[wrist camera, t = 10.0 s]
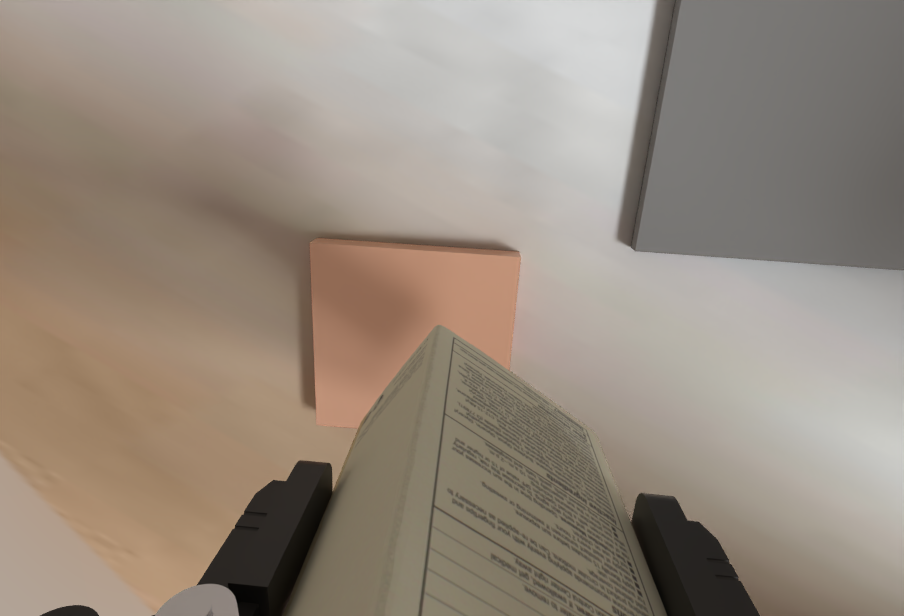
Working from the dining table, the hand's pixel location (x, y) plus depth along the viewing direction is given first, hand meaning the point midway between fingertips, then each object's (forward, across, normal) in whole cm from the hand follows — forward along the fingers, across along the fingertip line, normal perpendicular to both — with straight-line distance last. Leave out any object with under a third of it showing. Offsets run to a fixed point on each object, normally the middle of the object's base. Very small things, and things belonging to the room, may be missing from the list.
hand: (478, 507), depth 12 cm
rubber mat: (+10, -11, -10) cm, 18 cm away
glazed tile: (+9, -1, 0) cm, 10 cm away
